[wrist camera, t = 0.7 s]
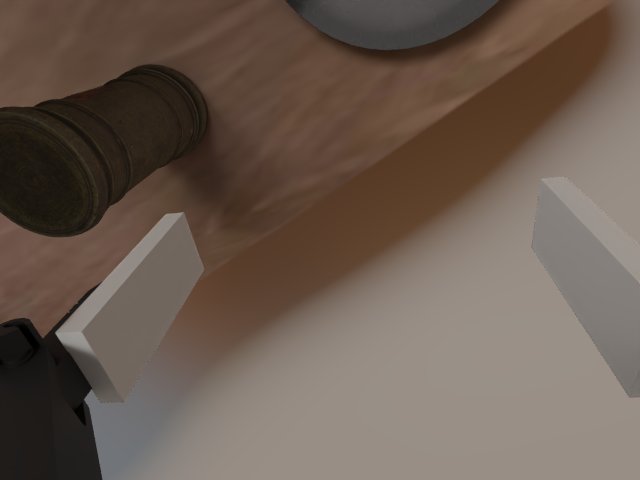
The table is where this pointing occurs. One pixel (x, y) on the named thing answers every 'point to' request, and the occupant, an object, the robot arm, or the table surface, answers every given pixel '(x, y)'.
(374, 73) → the table surface
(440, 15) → the turntable
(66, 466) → the robot arm
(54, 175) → the container
